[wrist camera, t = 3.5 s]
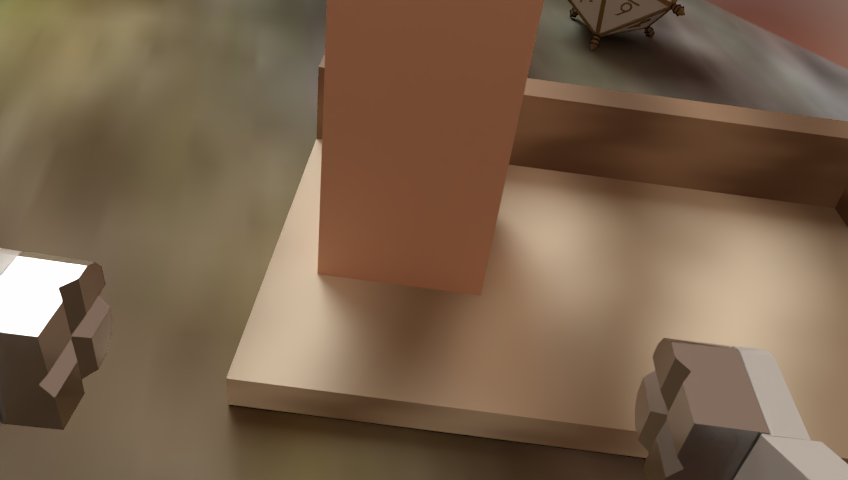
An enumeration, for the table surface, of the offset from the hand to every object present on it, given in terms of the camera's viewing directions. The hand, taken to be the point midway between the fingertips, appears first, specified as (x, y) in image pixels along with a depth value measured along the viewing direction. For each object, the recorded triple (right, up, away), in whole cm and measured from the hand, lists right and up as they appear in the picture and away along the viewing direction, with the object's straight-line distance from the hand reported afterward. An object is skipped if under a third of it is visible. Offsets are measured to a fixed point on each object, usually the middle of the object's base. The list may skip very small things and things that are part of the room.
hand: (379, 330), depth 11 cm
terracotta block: (0, +1, +14) cm, 14 cm away
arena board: (+7, 0, +14) cm, 16 cm away
